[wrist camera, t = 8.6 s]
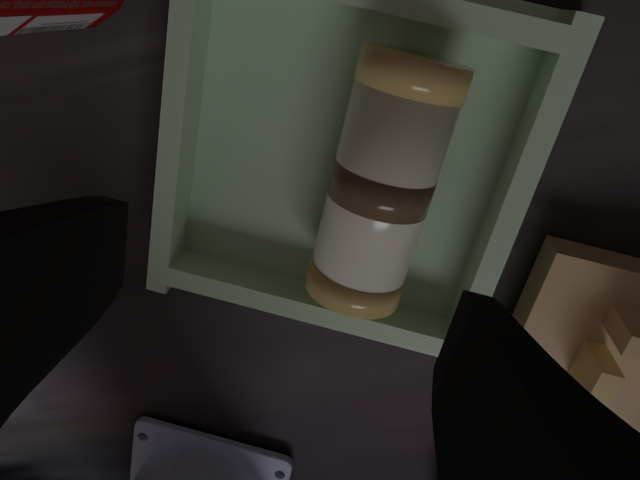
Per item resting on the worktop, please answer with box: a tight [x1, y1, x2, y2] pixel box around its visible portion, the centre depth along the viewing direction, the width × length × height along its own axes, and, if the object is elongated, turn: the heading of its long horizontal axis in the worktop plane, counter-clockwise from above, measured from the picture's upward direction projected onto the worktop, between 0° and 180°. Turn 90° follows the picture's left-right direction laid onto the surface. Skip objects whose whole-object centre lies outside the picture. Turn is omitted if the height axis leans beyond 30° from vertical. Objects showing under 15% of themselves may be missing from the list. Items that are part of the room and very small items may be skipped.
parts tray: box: [146, 0, 605, 357], centre depth 19 cm, size 13×13×2 cm
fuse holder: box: [512, 235, 640, 432], centre depth 21 cm, size 14×10×4 cm
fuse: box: [305, 42, 475, 319], centre depth 18 cm, size 8×4×4 cm
